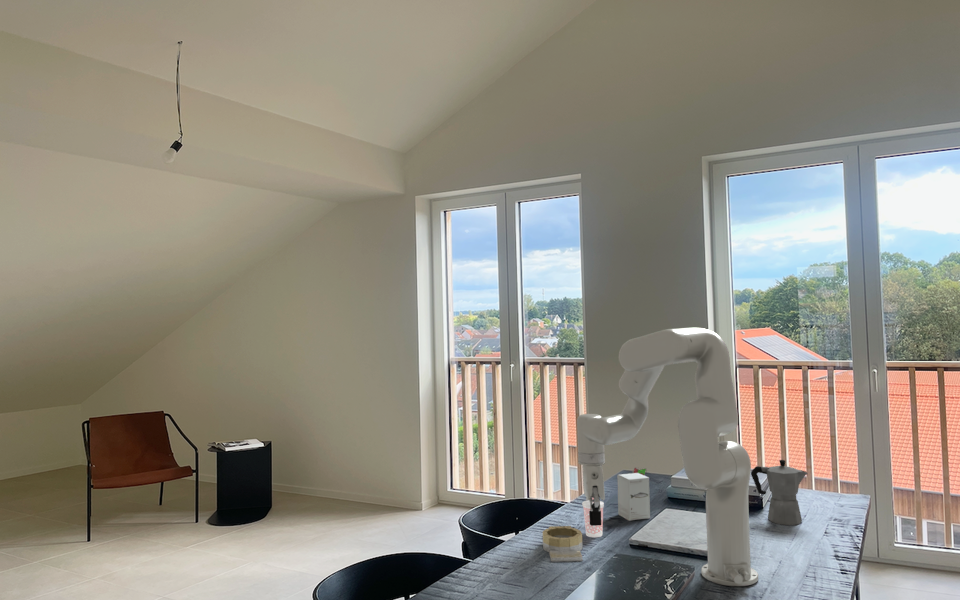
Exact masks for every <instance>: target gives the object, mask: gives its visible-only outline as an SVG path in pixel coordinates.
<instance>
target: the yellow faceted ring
mask: <svg viewBox="0 0 960 600" xmlns="http://www.w3.org/2000/svg"><path fill="white" fill-rule="evenodd" d="M557 535H566V536H572V537H568V538H558V537H552V536H557ZM543 542H544V543H546V544H548V545H550V546H556V547H571V546H575V545H579V544H580V543H581V542H582V543H583V533H582V531H581V530H580V529H578V528H576V527H572V526H571V525H567V526H566V525H562V526H561V525H560V526H557V525H555V526H554V525H553V526H552V525H551V526H549V527H548V528H545V529H544V530H542V543H543Z"/></svg>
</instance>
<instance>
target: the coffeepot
mask: <svg viewBox="0 0 960 600" xmlns="http://www.w3.org/2000/svg"><path fill="white" fill-rule="evenodd" d="M758 473H759V474H763V475H766V477H767V482H768V483H767V484H768V487H769V492H771V497H770V501H769V505H768V515H767V519H768V521H769V522H771V523H773V524H776V525H781V526H782V525H783V526H797V525H800V524H801V523H802V522H803V518H802V514H801V510H800V505H799V501H798V499H797V494H798V493H799V486H800V484H801V482H802V480H803V479H804V478H805V477H806V475H808V472H807V471H806V470H805V471H804V470H801V469H798V468H795V467H792V466H787V465H786V460H785V459H779V465H777V466H776V465H775V466H769V467H768V466H760V465H759V466H755V467H754V468H753V469H751V473H750V477H752V480H753V483H754V485H755V487H756V490H757V493H758V494H759V495H766V494H767V491H766V490H763V489H762V484H761V482H760V480H759V479H760V478H759V475H758Z"/></svg>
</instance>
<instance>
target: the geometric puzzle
mask: <svg viewBox="0 0 960 600" xmlns="http://www.w3.org/2000/svg"><path fill="white" fill-rule="evenodd" d="M646 472H647V468H640V469H639V468H638V467H634V468H633V470H632V472H631V473H639V474H642V475H644V476H647V477H649V475H647V474H645V473H646ZM631 473H630V474H631ZM649 480H651V478H650V477H649Z"/></svg>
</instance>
